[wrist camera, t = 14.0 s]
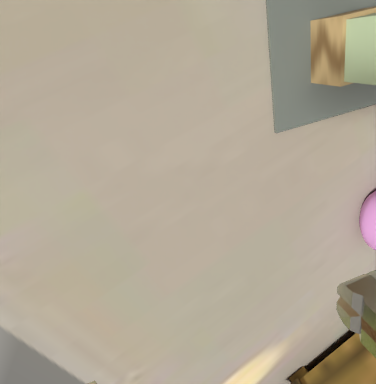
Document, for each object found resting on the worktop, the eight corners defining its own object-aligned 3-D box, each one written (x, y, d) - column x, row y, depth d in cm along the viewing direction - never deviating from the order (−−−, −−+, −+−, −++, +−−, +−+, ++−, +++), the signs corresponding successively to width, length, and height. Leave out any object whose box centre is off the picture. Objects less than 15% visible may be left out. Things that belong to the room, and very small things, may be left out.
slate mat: (264, -25, 37) (266, -26, 36) (400, -52, 40) (404, -53, 39) (274, 132, 46) (276, 133, 45) (384, 100, 49) (387, 100, 48)
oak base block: (310, 20, 40) (343, 15, 35) (361, 8, 41) (400, 1, 36) (310, 82, 43) (340, 86, 38) (358, 70, 45) (392, 72, 39)
